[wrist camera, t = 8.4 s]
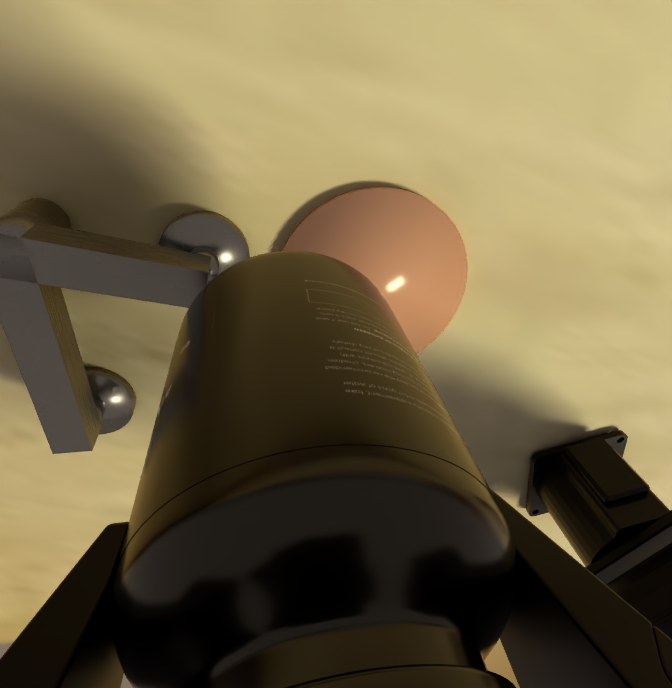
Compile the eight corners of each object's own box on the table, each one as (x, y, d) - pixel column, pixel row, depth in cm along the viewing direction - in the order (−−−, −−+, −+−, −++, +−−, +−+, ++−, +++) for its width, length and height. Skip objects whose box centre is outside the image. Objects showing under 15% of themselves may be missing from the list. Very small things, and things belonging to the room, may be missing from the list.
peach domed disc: (465, 341, 23) (468, 345, 23) (299, 383, 23) (300, 388, 23) (461, 164, 18) (465, 166, 18) (249, 215, 18) (249, 217, 18)
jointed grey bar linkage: (289, 378, 23) (296, 425, 20) (77, 433, 22) (52, 490, 19) (220, 155, 17) (215, 175, 14) (-75, 223, 16) (-145, 260, 13)
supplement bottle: (131, 307, 13) (-286, 1148, 3) (344, 202, 12) (753, 808, 2) (249, 451, 17) (246, 1039, 7) (417, 376, 16) (695, 898, 6)
